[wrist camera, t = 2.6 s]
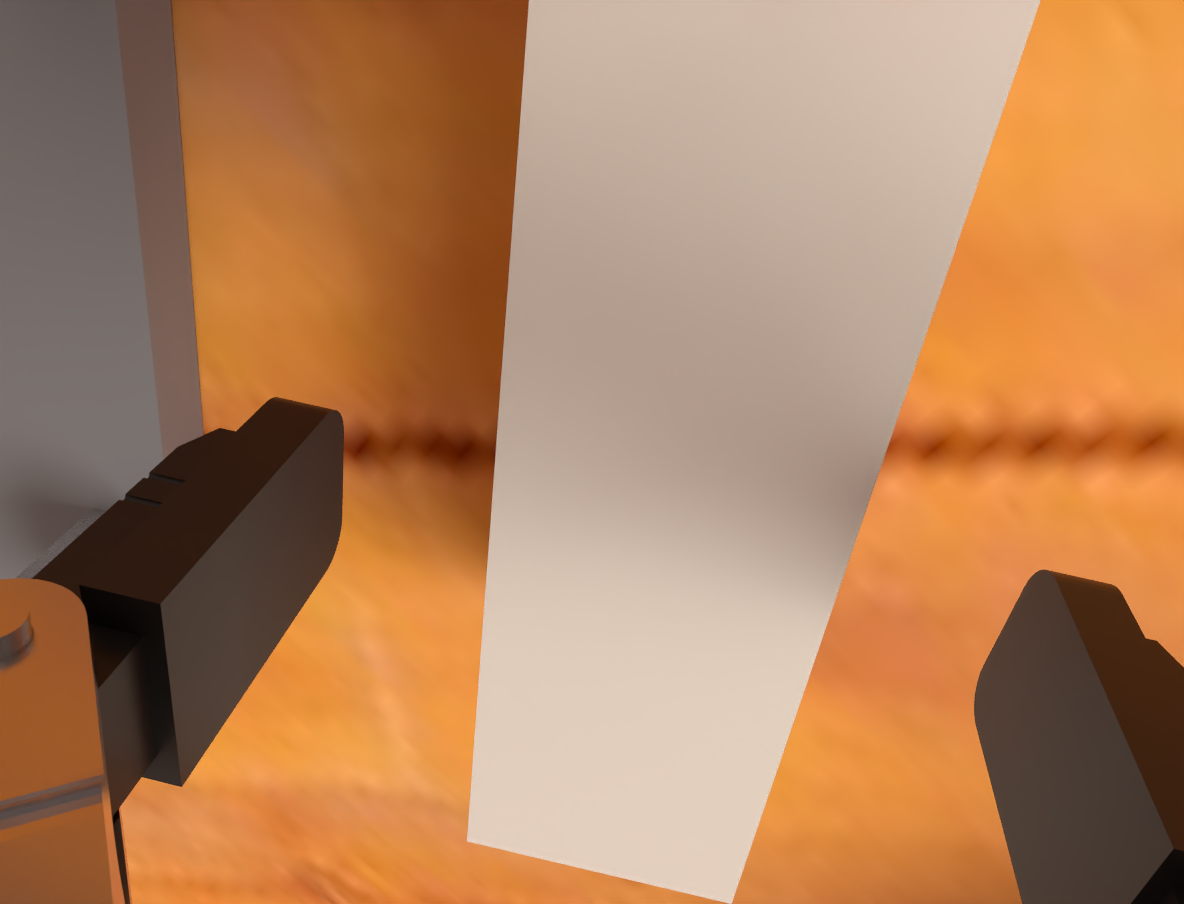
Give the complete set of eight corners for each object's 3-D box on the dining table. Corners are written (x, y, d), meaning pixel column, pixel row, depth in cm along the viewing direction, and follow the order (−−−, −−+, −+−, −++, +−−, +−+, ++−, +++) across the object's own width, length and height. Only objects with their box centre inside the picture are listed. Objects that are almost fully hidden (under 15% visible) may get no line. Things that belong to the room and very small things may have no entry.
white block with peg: (658, -297, 12) (438, -641, 4) (995, -255, 12) (1411, -552, 4) (549, 594, 21) (405, 1025, 13) (745, 636, 21) (721, 1106, 13)
